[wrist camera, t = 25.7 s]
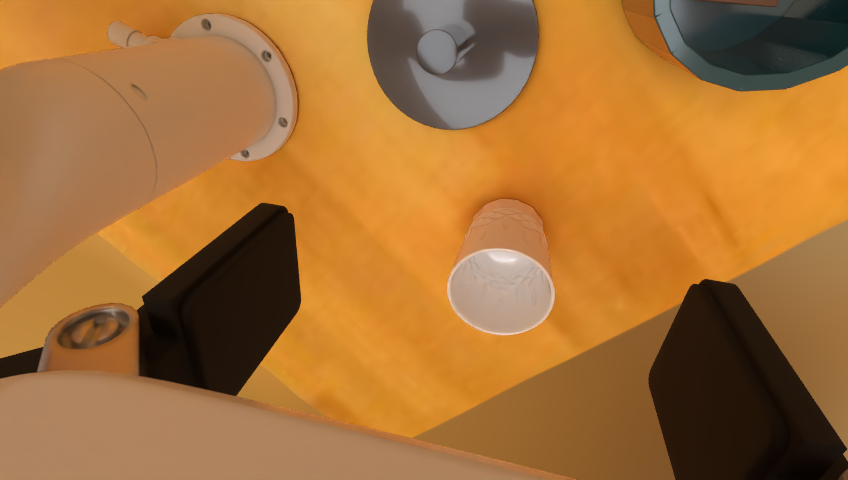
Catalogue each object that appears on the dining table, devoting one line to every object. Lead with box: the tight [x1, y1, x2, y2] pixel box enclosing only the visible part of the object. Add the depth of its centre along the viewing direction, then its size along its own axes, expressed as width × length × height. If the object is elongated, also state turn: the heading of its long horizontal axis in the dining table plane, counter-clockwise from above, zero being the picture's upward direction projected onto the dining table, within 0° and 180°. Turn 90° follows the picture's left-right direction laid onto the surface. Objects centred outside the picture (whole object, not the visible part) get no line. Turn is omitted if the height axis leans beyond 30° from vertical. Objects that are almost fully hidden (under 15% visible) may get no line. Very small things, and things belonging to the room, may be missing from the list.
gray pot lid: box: [367, 0, 539, 130], centre depth 32 cm, size 13×13×6 cm
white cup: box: [447, 199, 555, 335], centre depth 37 cm, size 8×8×10 cm
